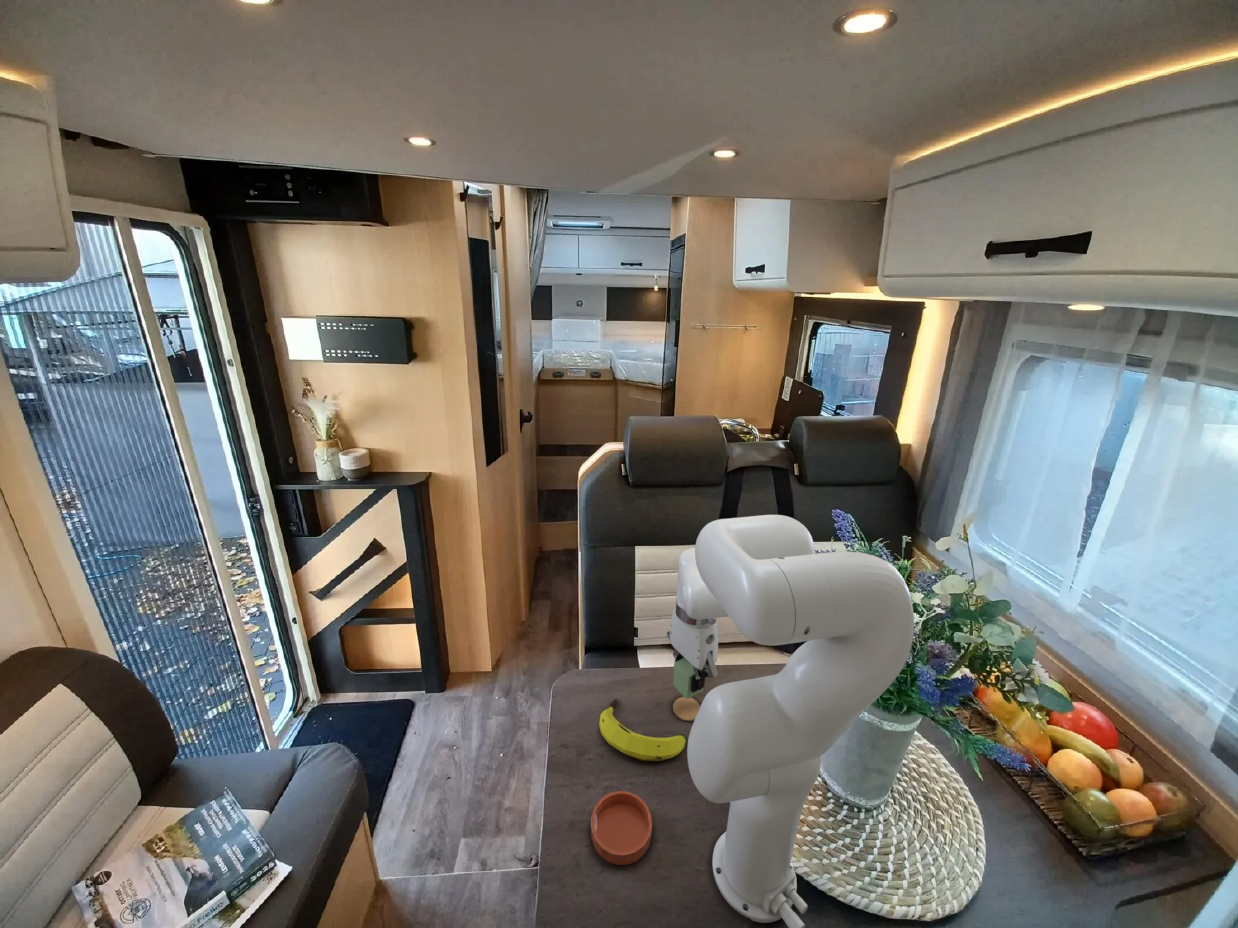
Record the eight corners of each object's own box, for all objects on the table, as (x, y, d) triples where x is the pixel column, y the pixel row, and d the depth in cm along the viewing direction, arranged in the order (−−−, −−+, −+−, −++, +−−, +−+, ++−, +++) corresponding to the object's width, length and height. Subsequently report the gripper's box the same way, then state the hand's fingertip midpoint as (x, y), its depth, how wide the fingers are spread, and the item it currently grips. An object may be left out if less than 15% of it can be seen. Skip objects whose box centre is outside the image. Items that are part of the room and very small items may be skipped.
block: (703, 689, 101) (705, 667, 99) (686, 699, 98) (688, 677, 96) (689, 675, 104) (691, 653, 102) (672, 684, 102) (674, 662, 100)
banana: (690, 750, 90) (681, 695, 104) (598, 743, 90) (601, 689, 104) (688, 770, 91) (679, 713, 105) (596, 764, 90) (600, 708, 105)
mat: (706, 712, 103) (707, 711, 102) (685, 725, 99) (685, 724, 99) (688, 693, 107) (688, 692, 107) (667, 705, 104) (667, 704, 104)
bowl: (663, 842, 79) (664, 830, 78) (611, 881, 74) (611, 869, 72) (629, 791, 87) (629, 779, 86) (579, 823, 81) (579, 811, 80)
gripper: (740, 626, 89) (731, 700, 96) (681, 581, 103) (676, 648, 109) (710, 642, 86) (703, 717, 92) (653, 592, 99) (650, 662, 105)
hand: (688, 679), depth 101 cm, fingers closed on block, 4 cm apart
